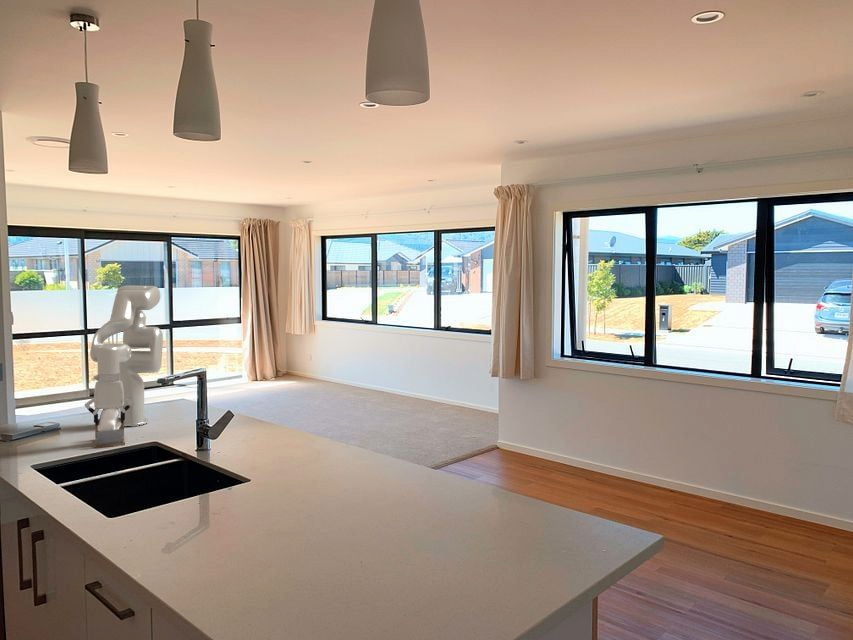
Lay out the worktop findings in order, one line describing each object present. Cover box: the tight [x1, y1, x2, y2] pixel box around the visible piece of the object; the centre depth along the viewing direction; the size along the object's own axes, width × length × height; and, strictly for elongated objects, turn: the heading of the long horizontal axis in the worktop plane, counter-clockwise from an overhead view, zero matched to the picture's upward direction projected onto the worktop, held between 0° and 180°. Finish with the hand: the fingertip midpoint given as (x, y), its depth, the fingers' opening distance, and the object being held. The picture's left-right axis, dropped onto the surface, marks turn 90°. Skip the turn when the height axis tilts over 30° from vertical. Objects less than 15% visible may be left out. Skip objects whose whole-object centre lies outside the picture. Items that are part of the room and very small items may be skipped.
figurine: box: [98, 408, 121, 431], centre depth 238 cm, size 7×8×12 cm
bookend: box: [96, 429, 124, 445], centre depth 234 cm, size 4×9×5 cm, turn 118°
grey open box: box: [94, 416, 126, 449], centre depth 238 cm, size 13×10×8 cm
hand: (109, 423), depth 238 cm, fingers closed on figurine, 8 cm apart
